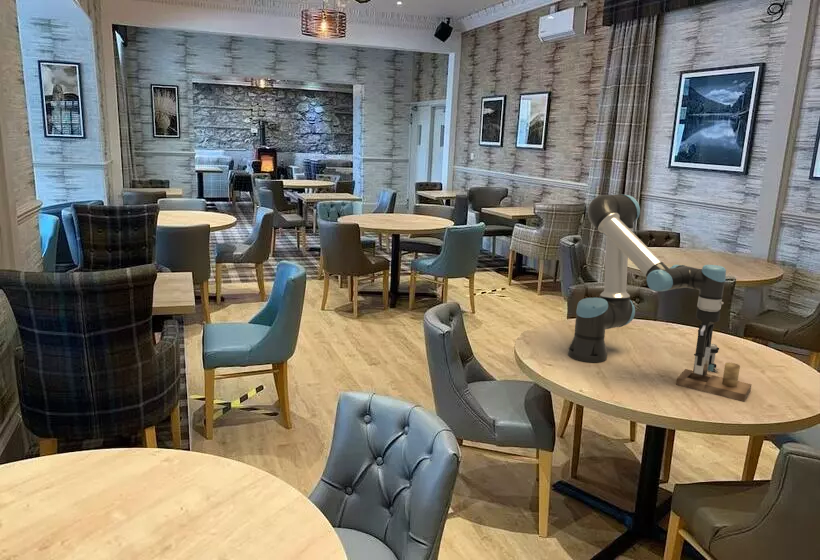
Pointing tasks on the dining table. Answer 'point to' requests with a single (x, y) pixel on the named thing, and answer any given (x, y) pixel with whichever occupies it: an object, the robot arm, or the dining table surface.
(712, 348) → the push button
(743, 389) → the jig
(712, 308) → the robot arm
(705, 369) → the tan grey cylinder
